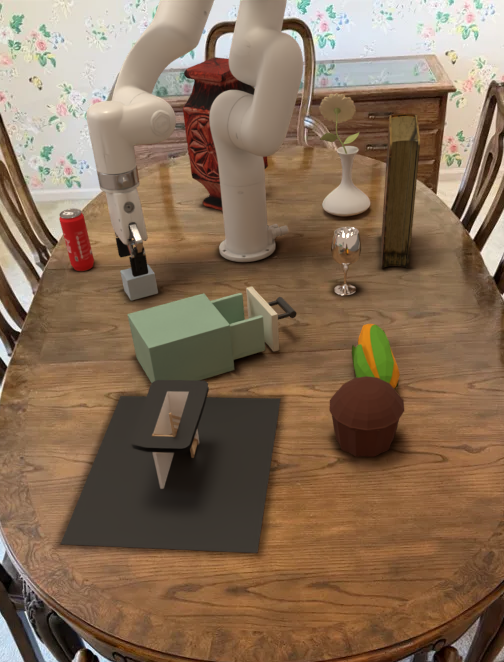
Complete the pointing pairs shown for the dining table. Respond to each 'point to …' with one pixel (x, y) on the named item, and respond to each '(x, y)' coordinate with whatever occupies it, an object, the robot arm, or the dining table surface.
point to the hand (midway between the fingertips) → (133, 265)
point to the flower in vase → (343, 160)
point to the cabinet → (182, 340)
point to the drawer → (252, 321)
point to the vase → (207, 122)
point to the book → (400, 188)
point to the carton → (139, 284)
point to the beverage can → (76, 239)
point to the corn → (375, 356)
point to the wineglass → (345, 254)
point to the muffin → (366, 415)
